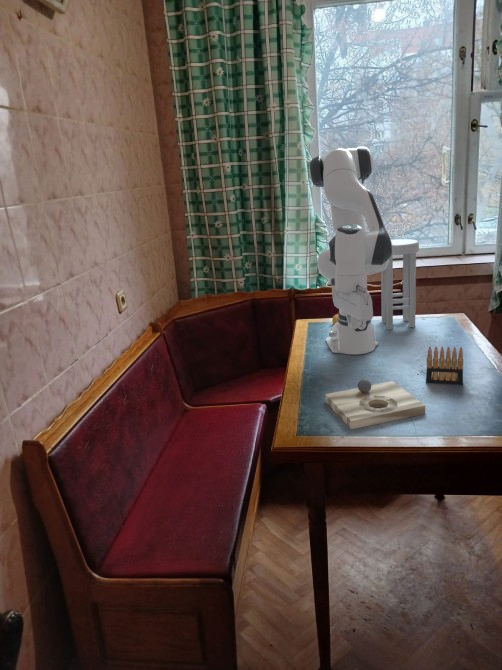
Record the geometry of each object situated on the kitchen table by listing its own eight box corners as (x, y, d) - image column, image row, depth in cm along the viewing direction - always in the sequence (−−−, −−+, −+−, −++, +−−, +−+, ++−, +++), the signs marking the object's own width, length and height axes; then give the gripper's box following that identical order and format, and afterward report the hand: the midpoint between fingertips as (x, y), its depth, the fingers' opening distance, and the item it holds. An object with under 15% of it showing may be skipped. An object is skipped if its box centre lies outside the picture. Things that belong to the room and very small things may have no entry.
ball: (355, 390, 148) (355, 378, 147) (367, 388, 149) (367, 375, 148) (361, 395, 144) (361, 383, 143) (373, 393, 145) (373, 380, 144)
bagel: (337, 330, 210) (337, 320, 209) (328, 323, 221) (328, 313, 219) (359, 327, 212) (359, 316, 211) (349, 320, 222) (349, 310, 221)
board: (325, 401, 149) (325, 394, 148) (392, 388, 153) (392, 380, 152) (351, 429, 132) (350, 421, 131) (425, 413, 136) (425, 405, 135)
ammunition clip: (462, 382, 152) (464, 345, 149) (463, 384, 151) (464, 348, 147) (425, 380, 156) (426, 345, 152) (425, 383, 154) (426, 347, 151)
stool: (375, 320, 218) (374, 240, 207) (411, 317, 217) (412, 237, 206) (383, 331, 204) (382, 246, 193) (421, 328, 203) (423, 242, 192)
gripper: (378, 287, 134) (379, 336, 138) (346, 275, 153) (348, 317, 157) (356, 291, 133) (358, 339, 137) (327, 277, 152) (329, 320, 156)
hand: (352, 327), depth 147 cm, fingers closed
